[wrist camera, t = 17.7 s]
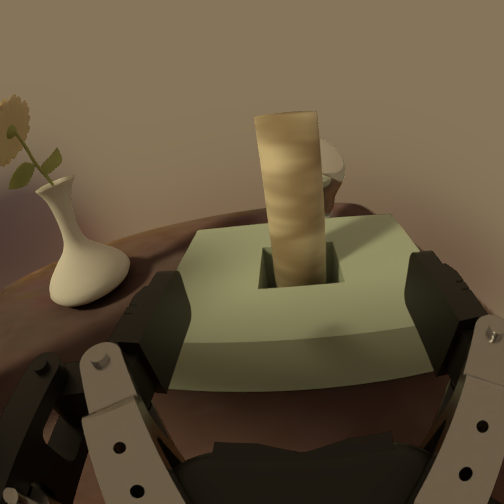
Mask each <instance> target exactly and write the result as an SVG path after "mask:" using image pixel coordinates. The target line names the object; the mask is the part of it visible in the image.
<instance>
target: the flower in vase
mask: <svg viewBox="0 0 504 504" xmlns="http://www.w3.org/2000/svg"><path fill="white" fill-rule="evenodd" d="M28 113H29V107H27V103H26V101H23V102H22V103H21V98H20V97H17V98H16V95H15V94H13V95H12V96H11V97H10V98H9V101H8V102H7V100H6V99H3V100H2V101H1V103H0V166H5V165H6V164H9V163H10V162H11V159H12V158H13V159H14V158H15V157H16V155H17V153H18V151H21V150H22V149H23V147H24V148H25V150H26V151H27V153H28V155H29V156H30V158H31V160H32V162H33V163H34V165H35V166H36V167H37V169H38V170H39V171H40V172H41V173H42V174H43V175H44V177H45V178H46V179H47V180H48V181H49V184H47V185H45V186H43V187H41V188H39V189H38V190H36V193H37V194H38V195H40V196H41V197H42V198H43V199H44V200H45V201H46V202H47V204H48V205H49V207H50V208H51V210H52V212H53V214H54V216H55V218H56V220H57V222H58V225H59V227H60V230H61V233H62V236H63V240H64V250H63V254H62V256H61V258H60V260H59V262H58V264H57V266H56V269H55V271H54V273H53V276H52V279H51V282H50V287H49V289H50V296H51V299H52V300H53V301H54V302H56V303H57V304H59V305H62V306H66V307H74V306H80V305H84V304H87V303H90V302H93V301H95V300H97V299H99V298H101V297H103V296H105V295H106V294H108V293H109V292H111V291H112V290H114V289H115V288H116V287H117V286H118V285H119V284H120V283H121V282H122V281H123V280H124V279H125V277H126V276H127V273H128V271H129V266H130V260H129V258H128V257H127V256H126V255H125V253H124V252H122V251H120V250H118V249H116V248H114V247H111V246H108V245H105V244H101V243H97V242H94V241H91V240H89V239H87V238H86V237H85V236H84V235H83V234H82V232H81V231H80V229H79V226H78V224H77V222H76V218H75V215H74V211H73V206H72V198H71V188H72V183H73V179H74V176H75V175H69V176H66V177H63V178H60V179H58V180H55V181H53V182H52V180H51V179H50V178H49V176H48V175H47V174H49V173H51V172H52V171H53V170H54V169H55V168H57V167H58V166H59V165H60V164H61V162H62V157H61V154H60V152H59V150H58V148H56V150H55V151H54V152H53V154H52V155H51V156H50V157H49V158H48V159H47V160H46V161H45V162H44V163H43V164H42V166H41V167H40V166H39V165H38V164H37V163H36V161H35V159H34V158H33V156H32V154H31V152H30V151H29V149H28V147H27V146H26V144H25V143H24V142H25V140H26V137H27V133H28V132H29V129H30V127H29V125H28V123H29V119H30V116H29V115H28ZM34 165H33V164H31V163H27V162H25V163H22V164H21V165H20V166H19V167H18V168H17V169H16V171H15V172H14V174H13V175H12V178H11V180H10V184H9V189H17V188H21V187H24V186H26V185H27V184H28V183H29V181H30V179H31V177H32V175H33V172H34V168H35V166H34Z"/></svg>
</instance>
